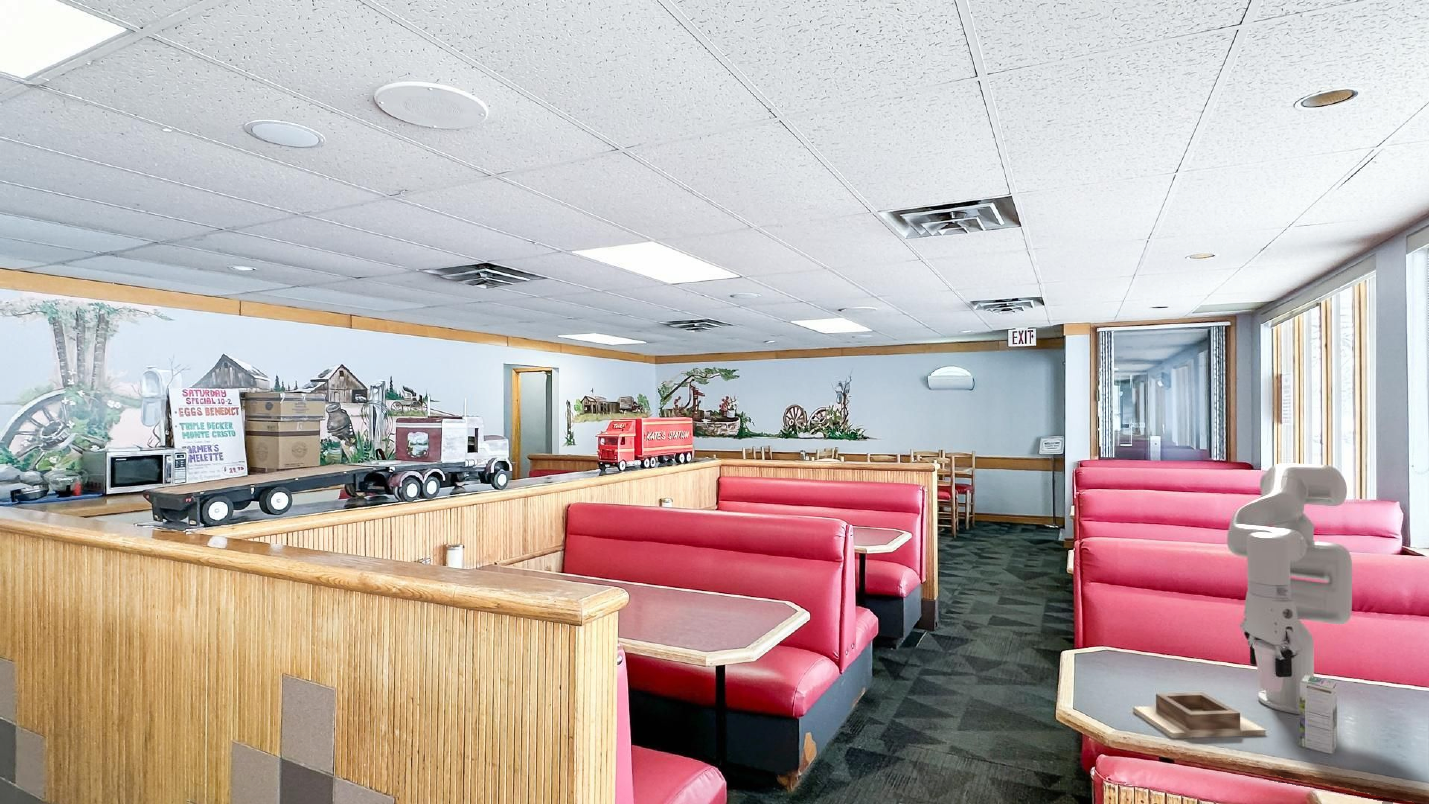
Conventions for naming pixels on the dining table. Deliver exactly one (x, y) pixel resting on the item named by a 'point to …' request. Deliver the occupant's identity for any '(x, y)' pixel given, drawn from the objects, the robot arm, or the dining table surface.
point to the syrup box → (1318, 714)
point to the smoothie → (1267, 665)
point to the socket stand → (1196, 717)
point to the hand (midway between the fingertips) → (1270, 669)
